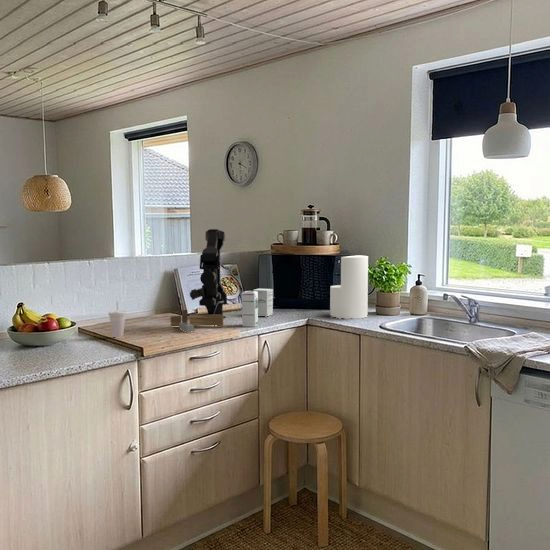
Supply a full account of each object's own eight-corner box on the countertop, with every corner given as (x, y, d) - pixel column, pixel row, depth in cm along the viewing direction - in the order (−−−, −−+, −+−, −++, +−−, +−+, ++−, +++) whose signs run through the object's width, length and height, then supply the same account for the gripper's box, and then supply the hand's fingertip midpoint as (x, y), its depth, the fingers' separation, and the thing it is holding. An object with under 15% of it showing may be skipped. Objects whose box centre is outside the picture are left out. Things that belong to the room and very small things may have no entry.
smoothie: (111, 339, 208) (110, 302, 207) (107, 336, 214) (106, 300, 212) (128, 338, 211) (127, 301, 210) (124, 335, 217) (123, 299, 215)
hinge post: (170, 327, 233) (170, 310, 233) (186, 326, 237) (186, 309, 236) (172, 328, 232) (171, 311, 231) (188, 326, 235) (188, 310, 234)
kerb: (179, 329, 229) (179, 322, 229) (186, 328, 230) (186, 322, 230) (186, 333, 221) (186, 325, 221) (194, 332, 222) (193, 325, 222)
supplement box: (252, 316, 262) (252, 289, 261) (259, 314, 269) (259, 288, 268) (267, 317, 259) (267, 290, 258) (273, 315, 266) (273, 288, 265)
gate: (190, 325, 236) (190, 313, 235) (223, 325, 234) (223, 314, 234) (189, 326, 234) (189, 314, 234) (222, 326, 232) (222, 315, 232)
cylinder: (373, 315, 265) (374, 255, 262) (358, 320, 250) (358, 257, 248) (340, 312, 274) (340, 255, 272) (323, 317, 259) (323, 256, 257)
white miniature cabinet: (255, 327, 234) (255, 292, 233) (241, 326, 235) (241, 292, 234) (258, 324, 240) (258, 290, 239) (245, 324, 241) (245, 290, 240)
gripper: (195, 278, 244) (196, 314, 245) (186, 285, 225) (187, 323, 227) (221, 279, 243) (221, 314, 245) (214, 285, 224) (214, 323, 226)
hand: (210, 319), depth 236 cm, fingers closed
